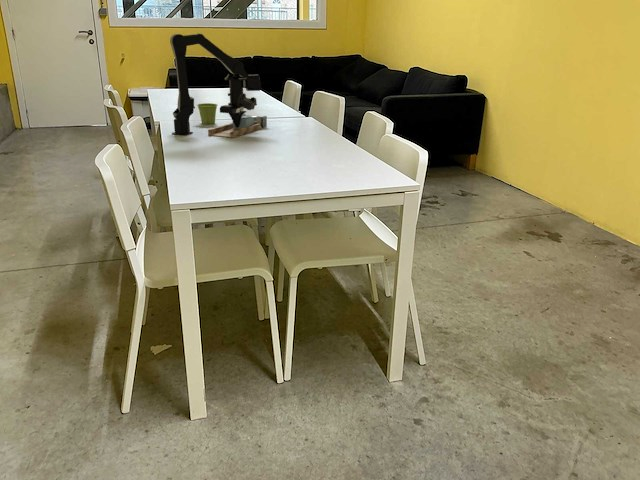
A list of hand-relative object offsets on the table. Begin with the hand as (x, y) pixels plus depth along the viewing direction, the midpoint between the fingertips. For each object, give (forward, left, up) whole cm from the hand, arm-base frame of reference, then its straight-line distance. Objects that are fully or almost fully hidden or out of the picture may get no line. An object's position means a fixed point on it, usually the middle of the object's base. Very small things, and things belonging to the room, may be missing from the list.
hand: (237, 127), depth 233 cm
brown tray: (-2, 0, -2) cm, 2 cm away
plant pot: (+10, +22, -2) cm, 24 cm away
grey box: (+6, 0, -1) cm, 6 cm away
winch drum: (+14, 0, -2) cm, 14 cm away
